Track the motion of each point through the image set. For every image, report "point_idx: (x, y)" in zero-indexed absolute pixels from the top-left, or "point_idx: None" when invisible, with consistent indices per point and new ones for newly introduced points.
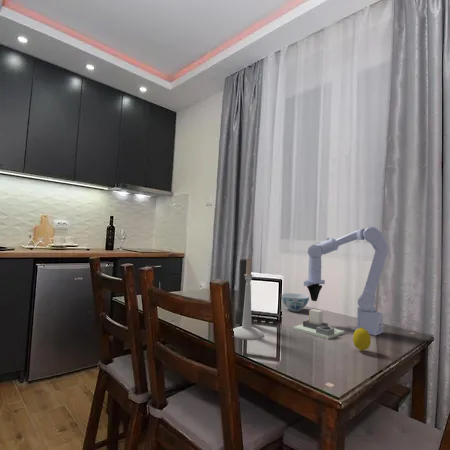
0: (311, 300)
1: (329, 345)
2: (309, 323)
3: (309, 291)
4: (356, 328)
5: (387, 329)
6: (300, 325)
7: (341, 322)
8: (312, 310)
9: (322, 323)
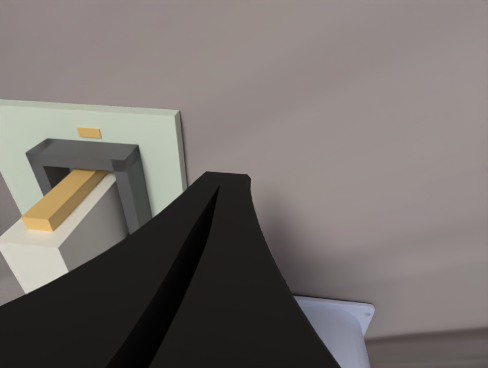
0: (206, 171)
1: (15, 289)
2: (45, 194)
3: (92, 266)
4: (305, 304)
5: (427, 361)
6: (41, 118)
7: (426, 214)
8: (12, 259)
9: (121, 240)
